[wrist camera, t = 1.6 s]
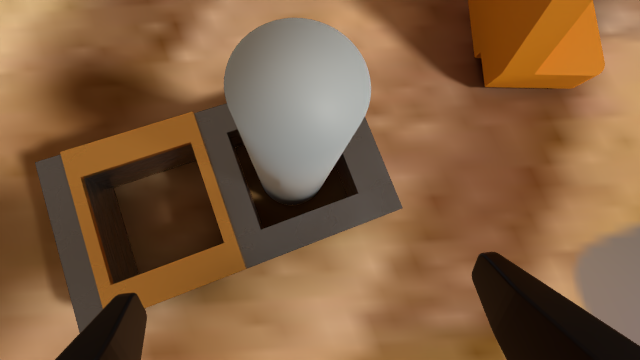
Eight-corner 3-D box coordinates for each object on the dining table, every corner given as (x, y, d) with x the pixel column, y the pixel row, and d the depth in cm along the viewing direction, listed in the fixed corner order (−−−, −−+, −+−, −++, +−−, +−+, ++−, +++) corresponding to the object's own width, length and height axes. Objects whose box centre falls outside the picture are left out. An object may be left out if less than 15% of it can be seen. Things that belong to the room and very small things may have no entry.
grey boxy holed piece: (386, 212, 22) (404, 207, 18) (111, 319, 19) (75, 334, 16) (336, 89, 23) (345, 64, 20) (71, 173, 20) (30, 161, 17)
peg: (332, 192, 22) (393, 127, 9) (272, 214, 21) (252, 176, 9) (310, 135, 22) (340, 2, 10) (251, 155, 21) (204, 39, 9)
